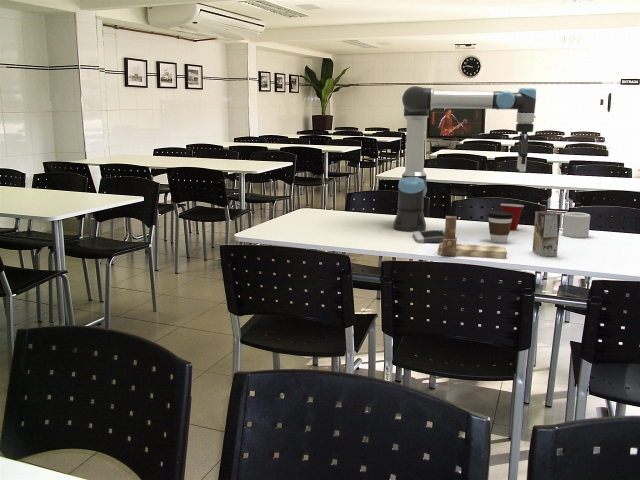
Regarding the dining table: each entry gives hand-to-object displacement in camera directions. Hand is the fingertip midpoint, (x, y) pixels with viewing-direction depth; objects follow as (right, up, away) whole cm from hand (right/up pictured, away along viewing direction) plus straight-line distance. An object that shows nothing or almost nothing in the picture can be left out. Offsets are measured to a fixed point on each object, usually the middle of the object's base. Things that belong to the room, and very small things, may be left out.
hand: (521, 170), depth 281 cm
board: (-34, -37, -46) cm, 68 cm away
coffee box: (-6, -38, -44) cm, 58 cm away
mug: (+21, -30, -7) cm, 37 cm away
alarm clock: (-44, -32, -19) cm, 58 cm away
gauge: (-43, -37, -45) cm, 72 cm away
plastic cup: (-3, -27, +7) cm, 28 cm away
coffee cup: (-17, -33, -22) cm, 43 cm away
